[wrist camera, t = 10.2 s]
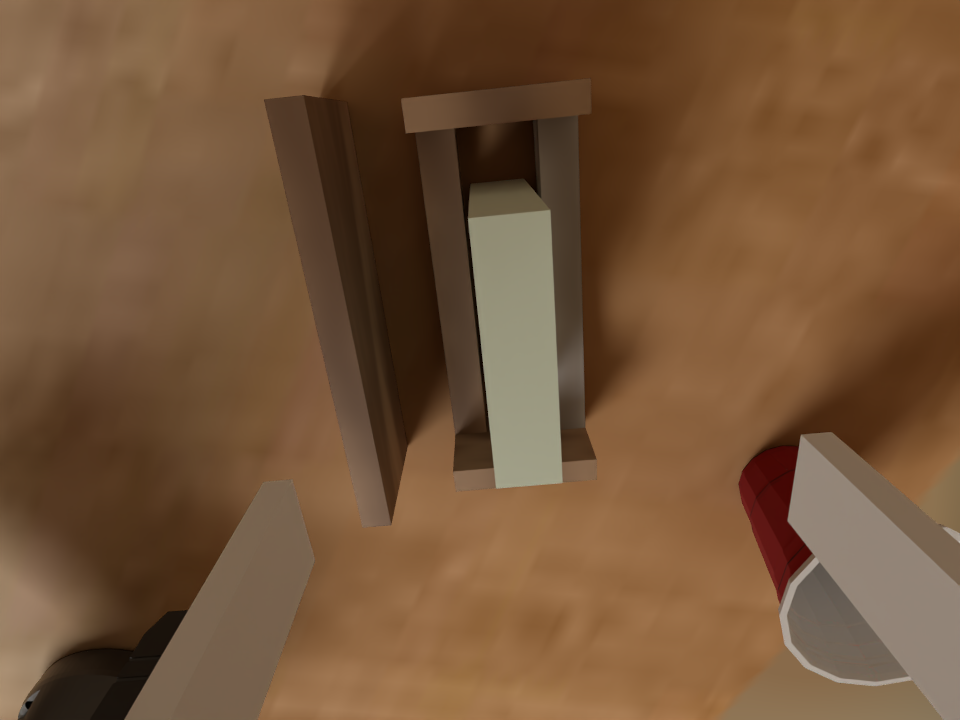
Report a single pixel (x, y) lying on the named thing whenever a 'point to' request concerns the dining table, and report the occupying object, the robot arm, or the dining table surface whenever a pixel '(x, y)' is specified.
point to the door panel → (517, 330)
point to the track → (355, 288)
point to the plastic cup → (810, 584)
